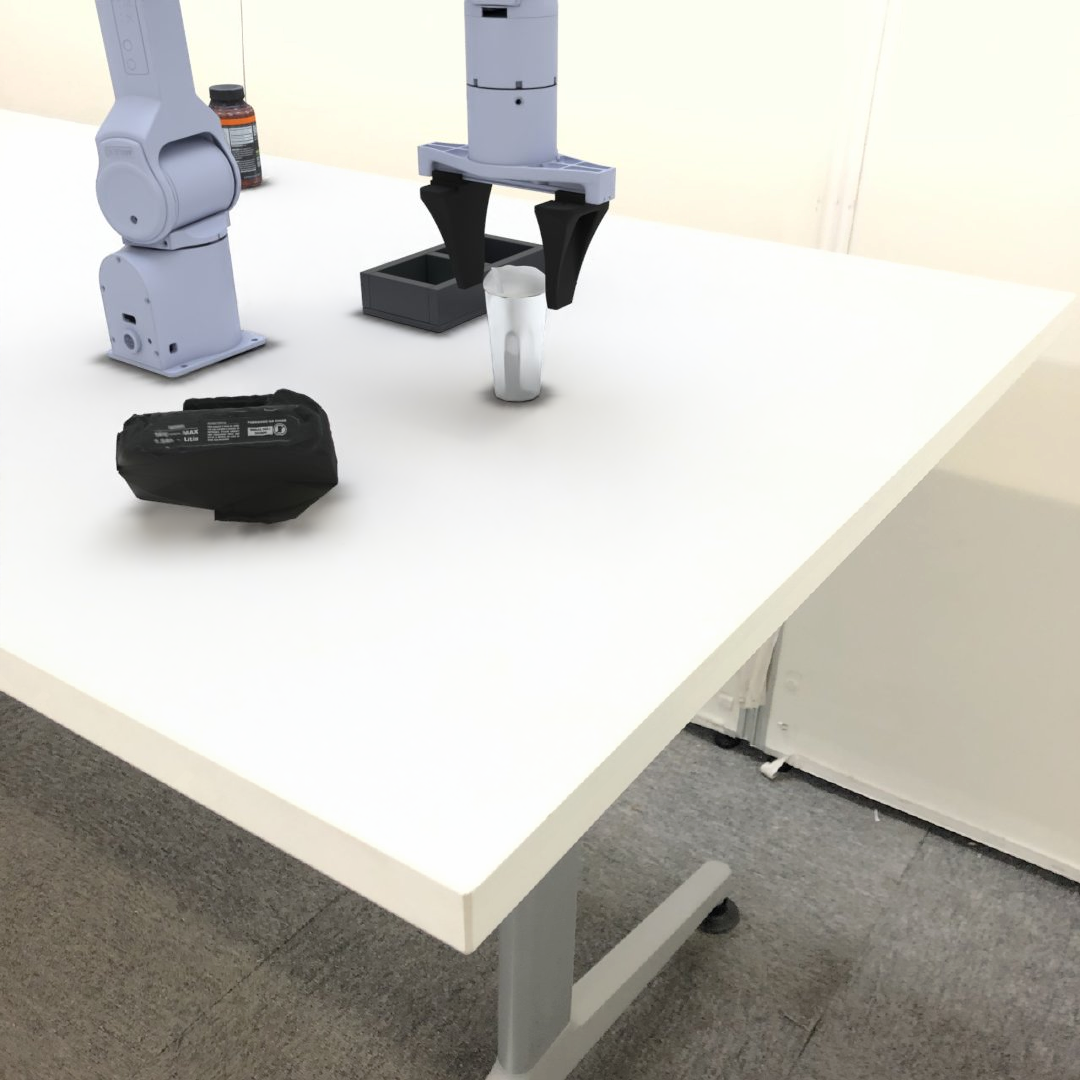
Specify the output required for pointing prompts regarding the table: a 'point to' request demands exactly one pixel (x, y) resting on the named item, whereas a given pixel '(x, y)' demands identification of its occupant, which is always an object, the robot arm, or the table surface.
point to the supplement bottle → (238, 130)
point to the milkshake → (516, 329)
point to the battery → (232, 456)
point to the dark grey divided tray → (438, 284)
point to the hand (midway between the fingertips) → (514, 295)
